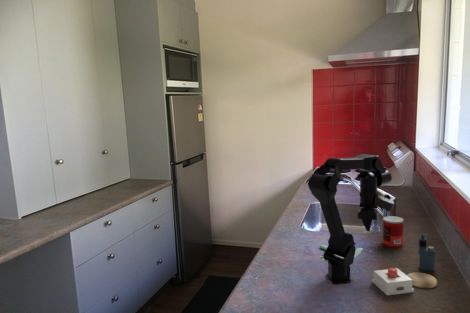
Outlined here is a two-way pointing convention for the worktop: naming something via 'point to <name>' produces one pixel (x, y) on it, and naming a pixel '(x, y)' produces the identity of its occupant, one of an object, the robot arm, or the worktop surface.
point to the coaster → (422, 280)
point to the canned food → (393, 231)
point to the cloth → (337, 255)
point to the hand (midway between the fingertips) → (368, 230)
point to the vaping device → (426, 255)
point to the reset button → (392, 273)
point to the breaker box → (392, 282)
